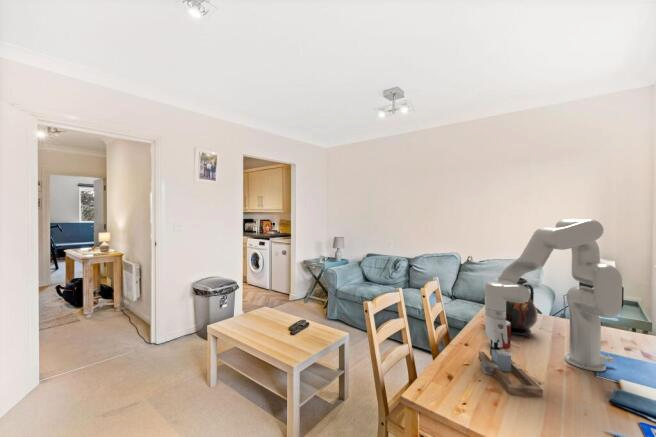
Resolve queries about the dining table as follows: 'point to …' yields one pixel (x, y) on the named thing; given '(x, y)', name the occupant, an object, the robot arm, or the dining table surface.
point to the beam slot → (492, 369)
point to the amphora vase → (522, 313)
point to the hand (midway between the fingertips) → (495, 356)
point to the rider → (501, 359)
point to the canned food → (508, 335)
